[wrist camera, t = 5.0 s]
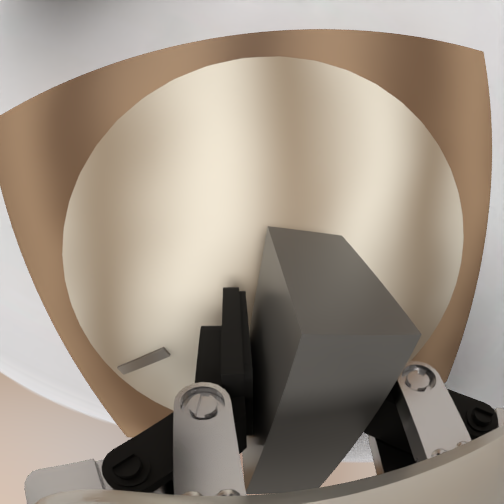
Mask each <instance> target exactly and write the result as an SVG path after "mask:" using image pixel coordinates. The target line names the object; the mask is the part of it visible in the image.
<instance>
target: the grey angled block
mask: <svg viewBox="0 0 504 504" xmlns="http://www.w3.org/2000/svg"><path fill="white" fill-rule="evenodd" d="M249 335H250V346H251V357H252V368H253V436H247V448H246V449H245V450H244V451H242V453H243V470H244V485H245V490H246V494H273V493H286V492H294V491H302V490H309V489H315V488H319V487H320V486H321V485H322V483H324V481H325V480H326V479H327V478H328V477H329V475H330V474H331V473H332V472H333V470H335V468H336V467H337V466H338V464H339V463H340V462H341V461H342V460H343V458H344V457H345V456H346V455H347V453H348V452H349V451H350V449H351V448H352V447H353V445H354V444H355V443H356V441H357V440H358V439H359V437H360V436H361V434H362V433H363V432H364V430H365V429H366V427H367V426H368V425H369V423H370V422H371V420H372V419H373V417H374V416H375V414H376V413H377V411H378V410H379V408H380V407H381V405H382V404H383V402H384V400H385V399H386V397H387V396H388V394H389V392H390V391H391V389H392V388H393V386H394V384H395V383H396V381H397V379H398V377H399V376H400V374H401V372H402V371H403V369H404V367H405V365H406V363H407V362H408V360H409V358H410V356H411V354H412V352H413V350H414V349H415V347H416V345H417V343H418V341H419V339H420V337H421V335H422V334H421V333H420V331H419V330H418V329H417V327H416V326H415V325H414V323H413V322H412V321H411V319H410V318H409V317H408V315H407V314H406V313H405V312H404V310H403V309H402V308H401V306H400V305H399V304H398V303H397V301H396V300H395V299H394V297H393V296H392V295H391V294H390V292H389V291H388V290H387V289H386V287H385V286H384V285H383V284H382V282H381V281H380V280H379V279H378V278H377V276H376V275H375V274H374V273H373V271H372V270H371V269H370V268H369V267H368V265H367V264H366V263H365V262H364V261H363V259H362V258H361V257H360V256H359V255H358V254H357V252H356V251H355V250H354V249H353V248H352V247H351V245H350V244H349V243H348V242H347V241H346V240H345V238H344V237H343V236H342V235H334V234H327V233H319V232H311V231H303V230H295V229H287V228H279V227H271V226H267V232H266V238H265V244H264V250H263V255H262V261H261V267H260V273H259V278H258V284H257V290H256V295H255V301H254V307H253V312H252V318H251V324H250V329H249Z"/></svg>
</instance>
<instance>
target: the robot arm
mask: <svg viewBox="0 0 504 504" xmlns="http://www.w3.org/2000/svg"><path fill="white" fill-rule="evenodd" d="M364 433H366V434H368V437H369V444H370V448H371V452H372V456H373V460H374V465H375V469H376V473H377V475H376V476H372V477H368V478H364V479H360V480H357V481H352V482H348V483H343V484H337V485H332V486H327V487H321V488H315V489H309V490H302V491H294V492H286V493H276V494H264V495H249V496H246V490H245V485H244V479H243V473H242V467H241V462H240V456H239V454H240V453H241V452H242V451H244V450H245V449H246V448H247V436H253V368H252V357H251V346H250V335H249V324H248V313H247V302H246V291H239V287H223V302H222V325H221V326H201V329H200V336H199V345H198V355H197V364H196V374H195V383H193V384H191V385H188V386H186V387H184V388H183V389H182V390H180V391H179V393H178V394H177V395H176V397H175V401H174V412H172V413H171V414H169V415H168V416H166V417H165V418H163V419H162V420H160V421H159V422H157V423H156V424H154V425H152V426H151V427H149V428H148V429H146V430H144V431H143V432H141V433H140V434H138V435H136V436H135V437H133V438H132V439H130V440H128V441H127V442H125V443H123V444H122V445H120V446H118V447H117V448H115V449H113V450H112V451H111V452H109V453H108V454H107V455H106V457H105V458H104V460H100V461H94V459H90V460H85V461H81V462H77V463H71V464H66V465H61V466H56V467H50V468H44V469H38V470H35V471H33V472H31V474H30V475H28V477H27V479H26V481H25V494H26V500H27V504H504V408H496V409H495V410H494V409H493V408H492V407H491V406H489V405H488V404H486V403H484V402H481V401H478V400H476V399H473V398H470V397H467V396H465V395H462V394H459V393H457V392H454V391H451V390H449V389H447V388H446V386H445V385H444V383H443V381H442V379H441V377H440V375H439V374H438V372H437V371H436V370H435V369H434V368H433V367H432V366H430V365H428V364H426V363H424V362H419V361H410V362H407V363H406V365H405V367H404V369H403V371H402V372H401V374H400V376H399V377H398V379H397V381H396V383H395V384H394V386H393V388H392V389H391V391H390V392H389V394H388V396H387V397H386V399H385V400H384V402H383V404H382V405H381V407H380V408H379V410H378V411H377V413H376V414H375V416H374V417H373V419H372V420H371V422H370V423H369V425H368V426H367V427H366V429H365V430H364Z"/></svg>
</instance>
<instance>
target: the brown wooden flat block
mask: <svg viewBox="0 0 504 504" xmlns="http://www.w3.org/2000/svg"><path fill="white" fill-rule="evenodd" d="M491 171H492V128H491V110H490V97H489V87H488V79H487V72H486V65H485V59H484V53H483V52H482V51H479V50H475V49H471V48H468V47H464V46H460V45H456V44H451V43H447V42H442V41H437V40H432V39H426V38H421V37H414V36H408V35H401V34H393V33H383V32H373V31H359V30H335V29H307V30H283V31H269V32H258V33H248V34H240V35H232V36H225V37H219V38H213V39H207V40H202V41H197V42H192V43H187V44H182V45H178V46H173V47H169V48H165V49H161V50H157V51H153V52H150V53H146V54H143V55H139V56H136V57H132V58H129V59H126V60H123V61H120V62H117V63H114V64H111V65H108V66H105V67H102V68H100V69H97V70H94V71H91V72H89V73H86V74H84V75H81V76H79V77H76V78H74V79H72V80H69V81H67V82H65V83H62V84H60V85H58V86H56V87H53V88H51V89H49V90H47V91H45V92H43V93H41V94H39V95H37V96H35V97H33V98H31V99H29V100H27V101H25V102H23V103H21V104H20V105H18V106H16V107H14V108H12V109H11V110H9V111H7V112H5V113H4V114H2V115H0V186H1V190H2V194H3V198H4V201H5V205H6V208H7V212H8V215H9V218H10V221H11V224H12V227H13V231H14V233H15V236H16V239H17V242H18V245H19V248H20V250H21V253H22V256H23V258H24V261H25V263H26V266H27V268H28V271H29V273H30V276H31V278H32V280H33V283H34V285H35V287H36V289H37V292H38V294H39V296H40V298H41V300H42V302H43V305H44V307H45V309H46V311H47V313H48V315H49V317H50V319H51V321H52V323H53V325H54V327H55V328H56V330H57V332H58V334H59V336H60V338H61V340H62V341H63V343H64V345H65V347H66V348H67V350H68V352H69V354H70V355H71V357H72V359H73V360H74V362H75V364H76V365H77V367H78V369H79V370H80V372H81V373H82V375H83V377H84V378H85V380H86V381H87V383H88V384H89V386H90V387H91V389H92V390H93V392H94V393H95V395H96V396H97V398H98V399H99V400H100V402H101V403H102V405H103V406H104V407H105V409H106V410H107V412H108V413H109V414H110V416H111V417H112V418H113V420H114V421H115V422H116V424H117V425H118V426H119V427H120V429H121V430H122V431H123V433H124V434H125V435H126V436H127V437H135V436H136V435H138V434H140V433H141V432H143V431H144V430H146V429H148V428H149V427H151V426H152V425H154V424H156V423H157V422H159V421H160V420H162V419H163V418H165V417H166V416H168V415H169V414H171V413H172V412H174V401H175V397H176V395H177V394H178V393H179V391H180V390H182V389H183V388H184V387H186V386H188V385H191V384H193V383H195V374H196V364H197V355H198V345H199V336H200V329H201V326H221V325H222V302H223V287H239V291H246V302H247V313H248V324H249V329H250V324H251V318H252V312H253V307H254V301H255V295H256V290H257V284H258V278H259V273H260V267H261V261H262V255H263V250H264V244H265V238H266V232H267V226H271V227H279V228H287V229H295V230H303V231H311V232H319V233H327V234H334V235H342V236H343V237H344V238H345V240H346V241H347V242H348V243H349V244H350V245H351V247H352V248H353V249H354V250H355V251H356V252H357V254H358V255H359V256H360V257H361V258H362V259H363V261H364V262H365V263H366V264H367V265H368V267H369V268H370V269H371V270H372V271H373V273H374V274H375V275H376V276H377V278H378V279H379V280H380V281H381V282H382V284H383V285H384V286H385V287H386V289H387V290H388V291H389V292H390V294H391V295H392V296H393V297H394V299H395V300H396V301H397V303H398V304H399V305H400V306H401V308H402V309H403V310H404V312H405V313H406V314H407V315H408V317H409V318H410V319H411V321H412V322H413V323H414V325H415V326H416V327H417V329H418V330H419V331H420V333H421V334H422V335H421V337H420V339H419V341H418V343H417V345H416V347H415V349H414V350H413V352H412V354H411V356H410V358H409V360H408V362H410V361H419V362H424V363H426V364H428V365H430V366H432V367H433V368H434V369H435V370H436V371H437V372H438V374H439V375H440V377H441V379H442V381H443V383H445V382H446V381H447V378H448V376H449V373H450V371H451V368H452V365H453V363H454V360H455V357H456V354H457V351H458V349H459V346H460V343H461V340H462V336H463V333H464V330H465V327H466V323H467V320H468V316H469V313H470V309H471V305H472V302H473V298H474V293H475V289H476V285H477V280H478V276H479V271H480V266H481V261H482V255H483V249H484V243H485V237H486V229H487V222H488V213H489V203H490V190H491Z"/></svg>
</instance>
